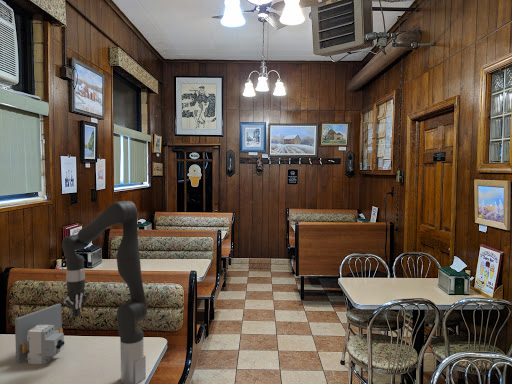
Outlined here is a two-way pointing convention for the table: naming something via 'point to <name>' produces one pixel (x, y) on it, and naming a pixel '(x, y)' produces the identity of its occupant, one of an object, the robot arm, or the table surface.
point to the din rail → (26, 345)
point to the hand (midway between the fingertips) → (76, 316)
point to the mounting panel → (33, 319)
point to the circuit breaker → (44, 344)
